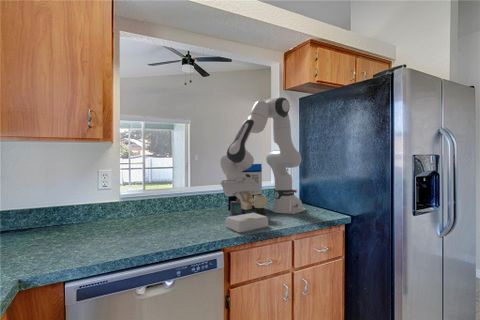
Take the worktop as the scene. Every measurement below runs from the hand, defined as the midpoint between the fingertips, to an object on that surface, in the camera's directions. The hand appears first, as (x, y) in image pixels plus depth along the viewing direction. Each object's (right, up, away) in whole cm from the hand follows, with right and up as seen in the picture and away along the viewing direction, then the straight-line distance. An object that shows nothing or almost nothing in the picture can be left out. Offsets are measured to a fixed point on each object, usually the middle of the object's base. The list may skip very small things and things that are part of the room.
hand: (247, 200), depth 137 cm
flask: (-5, -13, +22) cm, 26 cm away
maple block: (0, -4, +1) cm, 4 cm away
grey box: (0, -14, +1) cm, 14 cm away
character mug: (+8, -13, +18) cm, 23 cm away
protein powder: (0, -13, +46) cm, 47 cm away
